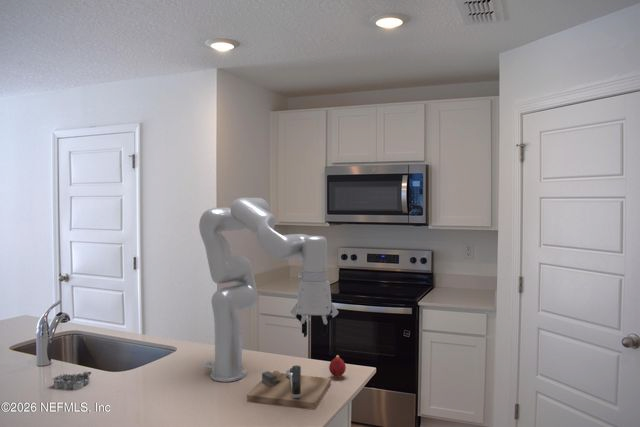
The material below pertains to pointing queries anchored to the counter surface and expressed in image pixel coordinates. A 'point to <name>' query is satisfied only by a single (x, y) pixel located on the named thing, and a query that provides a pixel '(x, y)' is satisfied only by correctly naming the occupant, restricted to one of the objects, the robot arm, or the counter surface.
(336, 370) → the onion
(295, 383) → the lever
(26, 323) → the counter surface
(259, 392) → the board
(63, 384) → the egg carton
